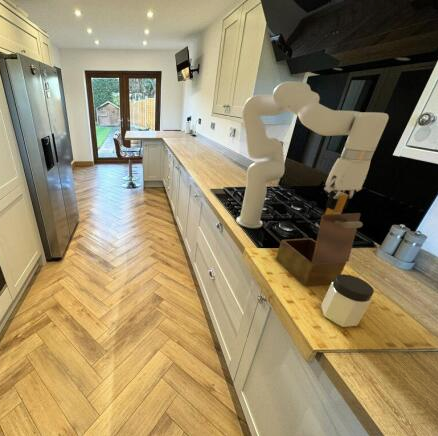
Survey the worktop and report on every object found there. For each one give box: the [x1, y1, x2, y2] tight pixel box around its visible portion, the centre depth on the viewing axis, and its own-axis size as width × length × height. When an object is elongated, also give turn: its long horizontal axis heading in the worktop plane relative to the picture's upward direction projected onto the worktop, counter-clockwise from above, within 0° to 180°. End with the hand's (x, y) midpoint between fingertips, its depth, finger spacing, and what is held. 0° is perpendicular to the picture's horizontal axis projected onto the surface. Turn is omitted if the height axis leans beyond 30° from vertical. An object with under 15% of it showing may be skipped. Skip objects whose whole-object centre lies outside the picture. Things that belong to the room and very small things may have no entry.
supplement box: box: [324, 191, 348, 215], centre depth 82 cm, size 3×3×10 cm
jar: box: [320, 273, 375, 328], centre depth 66 cm, size 9×8×12 cm
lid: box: [312, 212, 364, 264], centre depth 72 cm, size 16×13×5 cm
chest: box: [275, 237, 347, 287], centre depth 86 cm, size 16×13×9 cm
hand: (335, 207), depth 82 cm, fingers closed on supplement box, 3 cm apart
